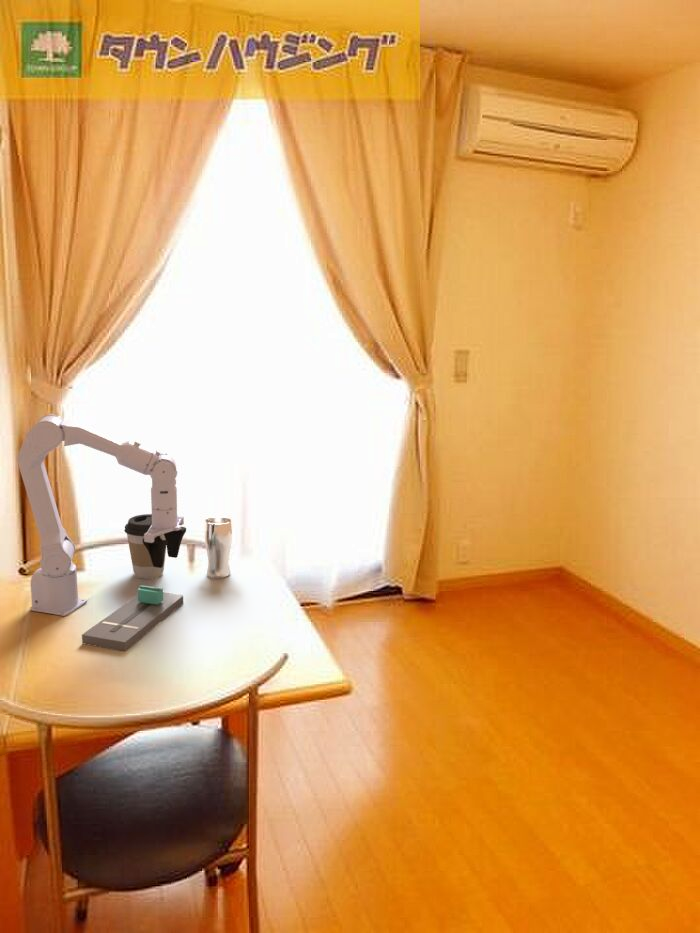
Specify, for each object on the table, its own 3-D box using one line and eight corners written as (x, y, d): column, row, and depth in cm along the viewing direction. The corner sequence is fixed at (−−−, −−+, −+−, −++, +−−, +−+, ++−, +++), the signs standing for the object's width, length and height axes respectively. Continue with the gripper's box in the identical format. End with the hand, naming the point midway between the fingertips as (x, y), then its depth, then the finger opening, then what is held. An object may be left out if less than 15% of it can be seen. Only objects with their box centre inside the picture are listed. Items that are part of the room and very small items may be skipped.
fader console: (82, 643, 135) (81, 634, 135) (145, 597, 158) (145, 589, 157) (125, 651, 133) (124, 641, 132) (183, 603, 155) (183, 595, 155)
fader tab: (138, 601, 150) (137, 587, 149) (143, 597, 152) (143, 583, 151) (157, 604, 149) (157, 590, 148) (163, 600, 151) (162, 586, 150)
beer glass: (210, 568, 177) (210, 515, 174) (235, 570, 176) (235, 517, 173) (201, 577, 170) (200, 523, 167) (227, 580, 170) (226, 525, 166)
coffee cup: (142, 563, 179) (140, 510, 175) (179, 569, 176) (178, 515, 172) (116, 578, 168) (114, 522, 165) (155, 585, 165) (153, 528, 161)
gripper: (163, 517, 145) (165, 575, 148) (194, 500, 158) (195, 553, 161) (135, 514, 146) (137, 571, 149) (168, 497, 160) (169, 550, 163)
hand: (165, 561), depth 155 cm, fingers open, 6 cm apart
